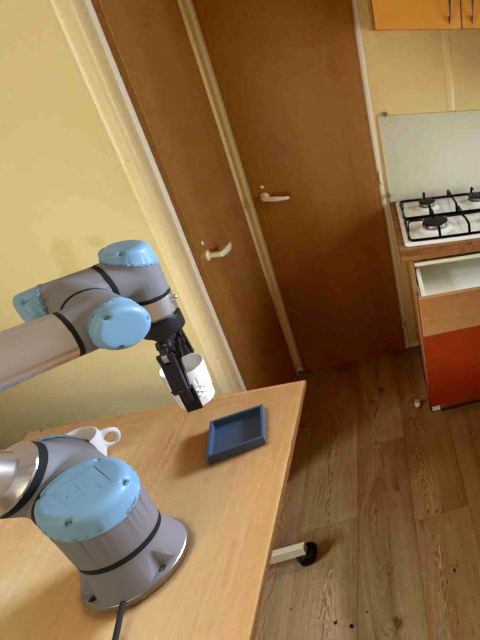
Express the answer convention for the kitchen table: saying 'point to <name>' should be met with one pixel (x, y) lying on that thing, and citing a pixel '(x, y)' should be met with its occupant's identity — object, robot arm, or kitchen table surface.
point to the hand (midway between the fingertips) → (196, 396)
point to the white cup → (194, 378)
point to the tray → (236, 433)
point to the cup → (97, 436)
